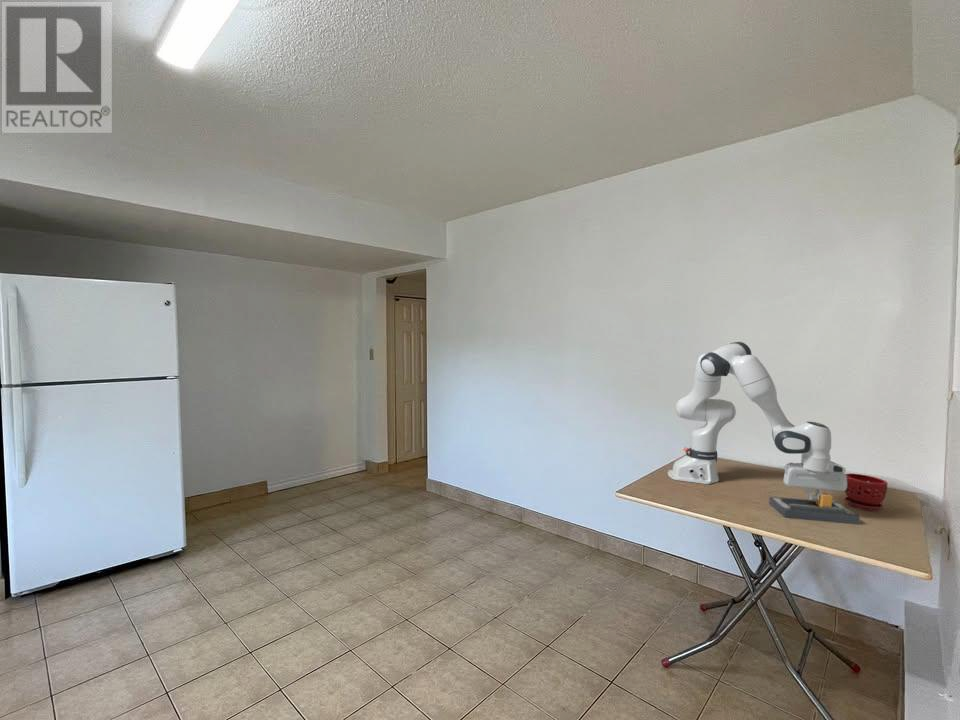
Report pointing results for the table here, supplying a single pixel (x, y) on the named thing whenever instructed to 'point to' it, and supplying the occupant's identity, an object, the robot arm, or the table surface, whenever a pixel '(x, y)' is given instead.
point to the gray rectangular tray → (812, 510)
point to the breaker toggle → (824, 500)
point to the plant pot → (865, 491)
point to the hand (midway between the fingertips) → (813, 499)
